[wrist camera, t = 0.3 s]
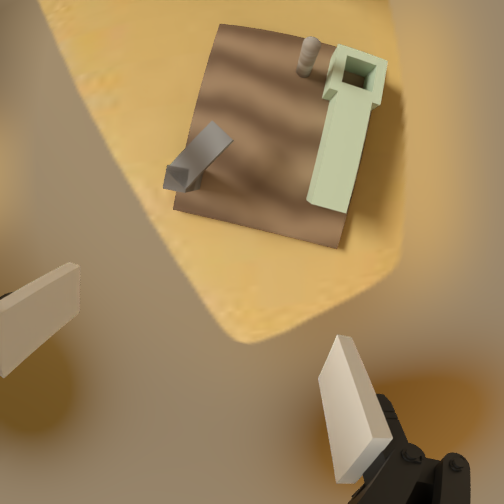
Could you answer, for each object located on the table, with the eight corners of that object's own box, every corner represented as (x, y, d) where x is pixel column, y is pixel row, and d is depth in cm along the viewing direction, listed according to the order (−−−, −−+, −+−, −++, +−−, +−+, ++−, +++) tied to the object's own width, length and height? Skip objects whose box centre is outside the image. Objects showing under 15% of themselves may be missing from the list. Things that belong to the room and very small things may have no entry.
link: (330, 58, 32) (338, 43, 27) (374, 72, 32) (387, 60, 27) (298, 197, 37) (302, 201, 32) (344, 210, 37) (354, 215, 32)
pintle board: (221, 26, 32) (206, -10, 23) (377, 64, 32) (406, 37, 23) (175, 208, 39) (145, 220, 29) (335, 247, 39) (355, 270, 29)
